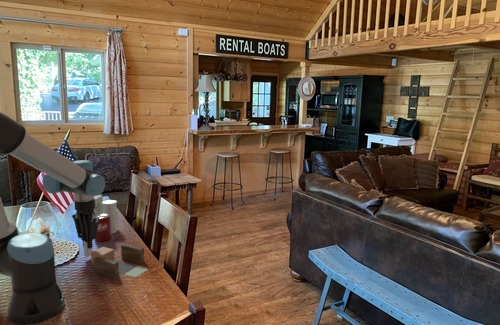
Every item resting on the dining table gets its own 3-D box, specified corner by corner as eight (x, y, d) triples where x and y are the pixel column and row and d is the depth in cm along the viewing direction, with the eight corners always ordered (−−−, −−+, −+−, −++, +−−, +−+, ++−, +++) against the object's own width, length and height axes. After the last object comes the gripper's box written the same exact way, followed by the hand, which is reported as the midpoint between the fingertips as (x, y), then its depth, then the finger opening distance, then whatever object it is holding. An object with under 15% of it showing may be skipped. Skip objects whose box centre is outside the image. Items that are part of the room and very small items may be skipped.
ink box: (97, 219, 197) (96, 198, 195) (82, 219, 198) (80, 198, 195) (104, 214, 206) (102, 194, 204) (89, 214, 206) (87, 194, 204)
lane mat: (135, 277, 135) (135, 277, 135) (87, 265, 144) (87, 264, 144) (149, 268, 142) (149, 268, 142) (103, 257, 151) (103, 256, 151)
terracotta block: (103, 267, 142) (102, 255, 141) (91, 264, 145) (90, 252, 144) (114, 261, 148) (113, 249, 147) (103, 258, 150) (102, 246, 149)
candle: (120, 231, 180) (118, 202, 177) (105, 234, 176) (103, 204, 173) (116, 227, 186) (115, 199, 183) (102, 230, 182) (100, 201, 179)
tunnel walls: (115, 279, 133) (114, 263, 132) (94, 273, 137) (93, 258, 136) (144, 261, 148) (143, 247, 147) (125, 257, 152) (124, 243, 151)
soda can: (105, 244, 164) (104, 219, 162) (91, 243, 166) (89, 218, 164) (114, 238, 171) (113, 214, 169) (100, 237, 173) (99, 213, 171)
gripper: (104, 199, 146) (107, 254, 150) (80, 195, 151) (84, 248, 155) (89, 203, 139) (93, 261, 143) (64, 199, 144) (69, 255, 148)
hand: (88, 255), depth 149 cm, fingers closed
